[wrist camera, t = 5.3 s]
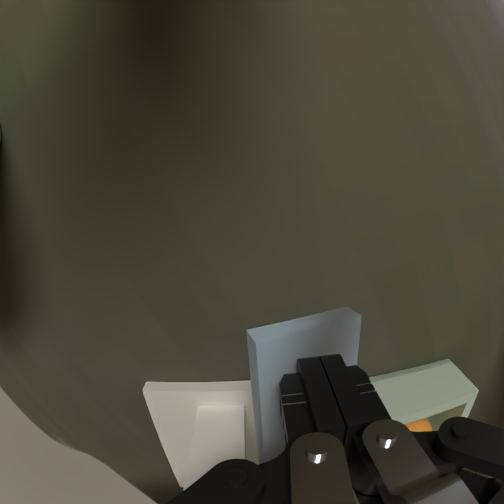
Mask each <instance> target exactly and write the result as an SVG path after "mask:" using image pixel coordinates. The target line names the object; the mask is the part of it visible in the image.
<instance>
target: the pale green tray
mask: <svg viewBox="0 0 504 504" xmlns="http://www.w3.org/2000/svg"><path fill="white" fill-rule="evenodd" d="M369 379H370V381H371V384H373V386H374V388H375V391H376V392H377V393H378V395H379V397H380V399H381V400H382V402H383V404H384V406H385V408H386V409H387V411H388V413H389V415H390V417H391V419H392V420H396V421H399V422H401V423H403V424H406V423H410V422H413V421H417V420H420V419H423V418H426V419H427V420H428V421H429V422H430V424H431V427H432V431H438V429H439V427H440V425H441V424H442V423H443V422H444V421H445V420H447V419H449V418H452V417H466V418H468V415H469V413H470V411H471V408H472V406H473V404H474V401H475V399H476V396H477V394H478V391H479V390H478V389H477V388H476V387H475V386H474V385H473V384H472V383H471V382H470V380H469V379H468V378H467V377H466V376H465V375H464V374H463V373H462V372H461V371H460V370H459V369H458V368H457V367H456V366H455V365H454V364H453V363H452V362H451V361H450V360H449V359H444V360H441V361H437V362H433V363H430V364H426V365H422V366H418V367H414V368H410V369H405V370H401V371H397V372H392V373H387V374H383V375H378V376H373V377H369Z"/></svg>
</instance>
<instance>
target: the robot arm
mask: <svg viewBox="0 0 504 504" xmlns="http://www.w3.org/2000/svg"><path fill="white" fill-rule="evenodd" d="M279 395H280V419H281V426H282V433H283V440H284V447H285V450H284V451H283V452H282V453H281V454H280V455H279V456H278V457H276V458H274V459H272V460H270V461H267V462H264V463H261V464H258V465H257V464H255V463H254V462H252V461H249V460H245V459H229V460H225V461H222V462H220V463H218V464H216V465H215V466H214V467H213V468H211V469H210V470H209V471H208V472H207V473H205V474H204V475H203V476H202V477H200V478H199V479H198V480H197V481H196V482H194V483H193V484H192V485H191V486H189V487H188V488H187V489H185V490H184V491H183V492H182V493H180V494H179V495H178V496H176V497H175V498H174V499H172V500H171V501H170V502H168V503H167V504H504V429H501V428H497V427H494V426H491V425H488V424H485V423H481V422H478V421H475V420H472V419H469V418H466V417H452V418H449V419H447V420H445V421H444V422H443V423H442V424H441V425H440V427H439V429H438V431H423V432H414V431H410V430H409V429H408V427H407V426H406V425H404V424H403V423H401V422H399V421H396V420H392V419H391V417H390V415H389V413H388V411H387V409H386V408H385V406H384V404H383V402H382V400H381V399H380V397H379V395H378V393H377V392H376V391H375V388H374V386H373V384H371V381H370V379H369V377H368V376H367V374H366V372H364V371H363V370H362V369H360V368H359V367H357V366H356V365H352V366H346V364H345V362H344V360H343V358H342V356H341V354H332V355H324V356H319V357H318V356H317V357H308V358H299V359H297V373H291V374H284V375H283V377H282V379H281V381H280V383H279ZM463 467H465V468H468V469H471V470H474V471H477V472H480V473H483V474H486V475H489V476H492V477H495V478H486V477H483V476H480V475H477V474H474V473H471V472H468V471H465V470H462V469H463Z"/></svg>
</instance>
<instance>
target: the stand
mask: <svg viewBox="0 0 504 504" xmlns="http://www.w3.org/2000/svg"><path fill="white" fill-rule="evenodd" d="M142 391H143V394H144V397H145V400H146V403H147V406H148V409H149V411H150V414H151V417H152V420H153V423H154V425H155V428H156V431H157V433H158V436H159V438H160V441H161V443H162V446H163V448H164V451H165V453H166V456H167V458H168V461H169V463H170V465H171V467H172V470H173V472H174V474H175V477H176V479H177V481H178V483H179V485H180V487H184V490H185V489H187V488H188V487H189V486H191V485H192V484H193V483H194V482H196V481H197V480H198V479H199V478H200V477H202V476H203V475H204V474H205V473H207V472H208V471H209V470H210V469H211V468H213V467H214V466H215V465H216V464H218V463H220V462H222V461H225V460H229V459H245V460H249V461H252V462H254V463H255V464H257V465H258V464H259V461H258V451H257V441H256V431H255V420H254V409H253V399H252V388H251V380H247V381H227V382H146V383H145V385H144V388H143V390H142ZM184 490H183V491H184Z"/></svg>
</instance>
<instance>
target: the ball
mask: <svg viewBox="0 0 504 504" xmlns="http://www.w3.org/2000/svg"><path fill="white" fill-rule="evenodd" d="M404 425H406V426H407V427H408V429H409V430H410V431H414V432H423V431H432V427H431V424H430V422H429V421H428V420H427V419H426V418H423V419H420V420H417V421H413V422H410V423H406V424H404Z"/></svg>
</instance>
